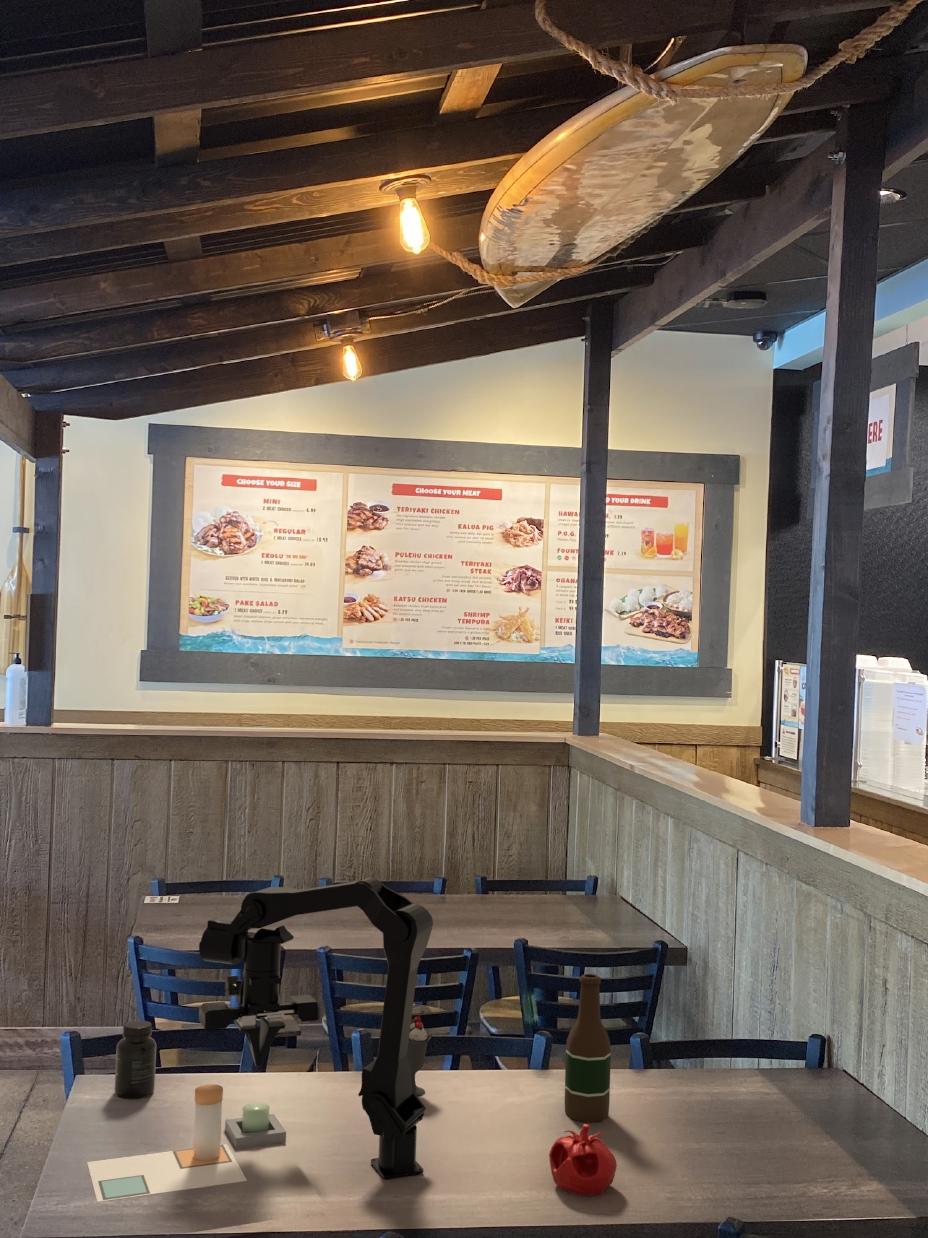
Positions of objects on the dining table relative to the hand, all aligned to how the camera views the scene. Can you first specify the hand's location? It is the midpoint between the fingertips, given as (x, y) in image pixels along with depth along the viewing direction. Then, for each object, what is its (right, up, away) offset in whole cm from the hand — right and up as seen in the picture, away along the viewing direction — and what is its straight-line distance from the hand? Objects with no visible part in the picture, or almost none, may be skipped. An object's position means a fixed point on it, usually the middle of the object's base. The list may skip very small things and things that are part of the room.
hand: (257, 1066), depth 187 cm
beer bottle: (+55, -15, +16) cm, 59 cm away
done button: (0, -10, -1) cm, 10 cm away
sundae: (+24, -14, +24) cm, 37 cm away
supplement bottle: (-25, -12, +19) cm, 34 cm away
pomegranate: (+51, -13, -13) cm, 54 cm away
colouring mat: (-11, -11, -15) cm, 22 cm away
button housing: (0, -12, -1) cm, 12 cm away
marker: (-6, -10, -9) cm, 15 cm away
